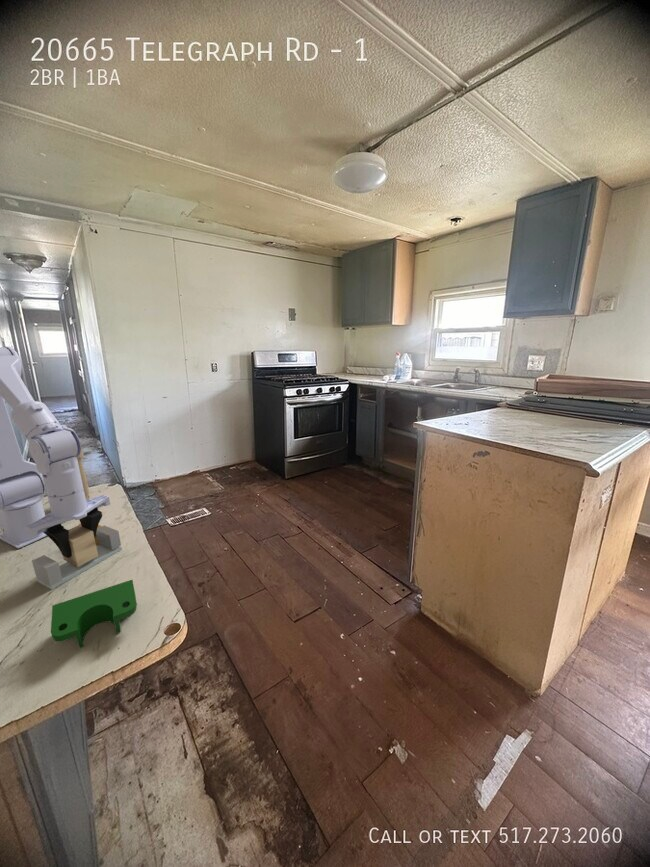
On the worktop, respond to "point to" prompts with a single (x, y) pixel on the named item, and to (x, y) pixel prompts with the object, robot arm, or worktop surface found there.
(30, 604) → the worktop surface
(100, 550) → the vise
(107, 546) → the free jaw
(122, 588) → the clamp
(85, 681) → the worktop surface
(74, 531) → the block
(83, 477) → the handle
